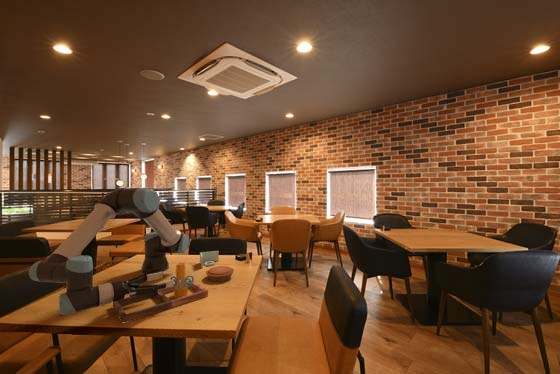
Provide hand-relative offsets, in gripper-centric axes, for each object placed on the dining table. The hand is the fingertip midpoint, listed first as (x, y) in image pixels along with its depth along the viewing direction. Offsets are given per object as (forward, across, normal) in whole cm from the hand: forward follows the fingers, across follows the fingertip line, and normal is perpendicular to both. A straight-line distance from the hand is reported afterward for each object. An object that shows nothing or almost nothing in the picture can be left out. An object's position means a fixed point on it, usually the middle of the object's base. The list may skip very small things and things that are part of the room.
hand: (167, 278), depth 112 cm
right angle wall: (+39, -34, -10) cm, 52 cm away
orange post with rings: (+6, 0, -10) cm, 12 cm away
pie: (+32, -8, -10) cm, 34 cm away
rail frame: (-2, 0, -10) cm, 10 cm away
